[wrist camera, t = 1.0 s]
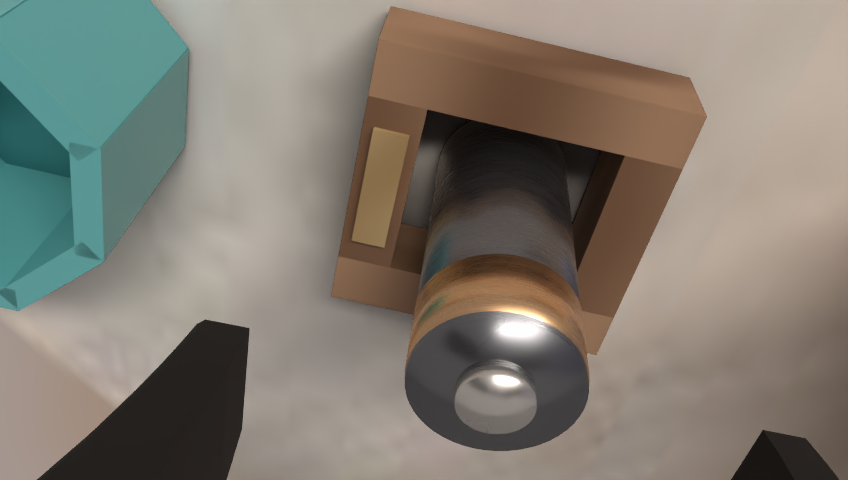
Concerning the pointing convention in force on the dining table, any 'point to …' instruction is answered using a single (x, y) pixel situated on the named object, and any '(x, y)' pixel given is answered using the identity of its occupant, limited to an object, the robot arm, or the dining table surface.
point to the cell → (498, 296)
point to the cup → (81, 132)
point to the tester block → (523, 111)
